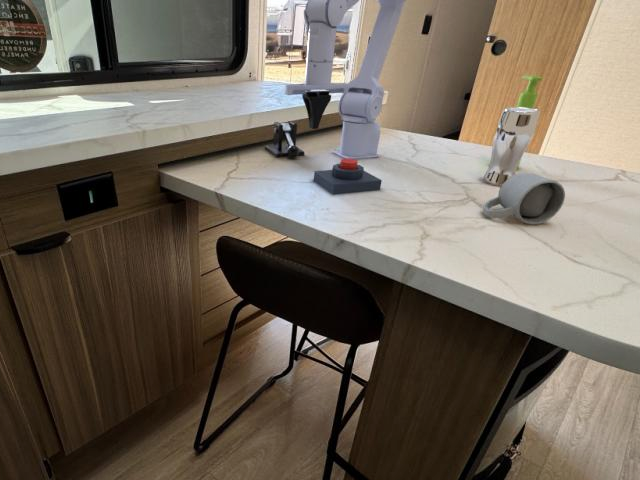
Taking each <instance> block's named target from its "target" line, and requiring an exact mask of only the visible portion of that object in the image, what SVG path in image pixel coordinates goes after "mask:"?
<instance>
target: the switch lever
mask: <svg viewBox="0 0 640 480" xmlns="http://www.w3.org/2000/svg"><path fill="white" fill-rule="evenodd" d="M280 124H282V125H283V133H282V138H285V141H286V144H288V146H289V149H288V155H289V156H290V157H289V158H297V157H299V156H298V154H299V149H300V148H299V147H298V146H294V145H293V142H292V139H291V137H290V132H291V128H290V126H289V123H288V122H280ZM298 148H299V149H298Z"/></svg>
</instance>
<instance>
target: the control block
mask: <svg viewBox="0 0 640 480" xmlns="http://www.w3.org/2000/svg"><path fill="white" fill-rule="evenodd" d="M313 172H314V173H313V182H315V184H317V185H319V186H320V187H322V188H323V189H324V190H325V191H327V192H328V193H330V194H331V195H333V196H334V195H344V194H354V193H356V194H357V193H364V192H365V193H366V192H374V191H376V192H377V191H380V190H381V187H382V181H383V180H382V179H380V178H378V177H377V176H375V175H373V174H371V173H369V172H367V171H366V170H365V167H364V166H362V165H361V164H357V169H356V170H344V169H340V163H336V164H333V165H332V169H325V170H315V171H313Z"/></svg>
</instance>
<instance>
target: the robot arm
mask: <svg viewBox="0 0 640 480" xmlns="http://www.w3.org/2000/svg"><path fill="white" fill-rule="evenodd" d="M359 1H360V0H307V2H306V4H305V9H304V10H303V19H304V22H305V25H306V28H305V29H306V30H305V31H306V32H305V34H306V36H307V39H308V40H307V47H306V48H307V49H306V63H305V64H306V65H305V76H304V83H296V84H295V83H293V84H291V83H290V84H285V87H284V89H285V90H284V93H285V94H284V95H286V96H293V95H294V96H295V95H302V96H301V97H302V100H303V103H304V106H305V109H306V112H307V118H308V126H309V128H310V129H312V130H318V129H319V126H320V123H321V121H322V118H323V115H324V112H325V110H326V108H327V107H328V106H329V104H330V102H331V100H332V95H331V94H341V96H340V97H339V100H338V103H337V110H338V114H339V116H340V117H341V118H340V120H342V130H341V137H340V146H339V150H333V154H335V155H337V156H339V157H341V158H342V159H355V160H359V159H372V158H379V155H378V150H379V149H378V148H379V144H380V137H381V124H380V122H379V121H378V120H376V119H377V118H378V117H379V116H380V113H381V111H382V109H383V100H384V96H385V90H384V88H383V86H382V85H381V84H380V82H379V79H380V77H381V74H382V70H383V68H384V65H385V61H386V59H387V56H388V54H389V51H390V48H391V45H392V42H393V39H394V35H395V33H396V29H397V27H398V24H399V21H400V18H401V15H402V12H403V10H404V7H405V4H406V1H407V0H375V2H377V3H379V10H378V13H377V16H376V19H375V22H374V25H373V29H372V32H371V33H370V37H369V41H368V44H367V47H366V50H365V52H364V55H363V59H362V61H361V65H360V67H359V71H358V74H357V76H356V77H354V78H352V79H351V80H350V81H349V82H332V75H333V65H334V56H335V46H336V37H337V29H338V27H337V26H340V25H341V24H342V22H343V20H344V17H345V15H346V14H347V12H348V11H349V10H350V9H352V8H353V7H354V6H355V5H356V4H357V3H359Z"/></svg>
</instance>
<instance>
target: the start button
mask: <svg viewBox="0 0 640 480" xmlns="http://www.w3.org/2000/svg"><path fill="white" fill-rule="evenodd" d="M358 163H359V161H358V159H344V158H341V159H340V162H339V164H340V169H344V170H356V169H357V165H358Z"/></svg>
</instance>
